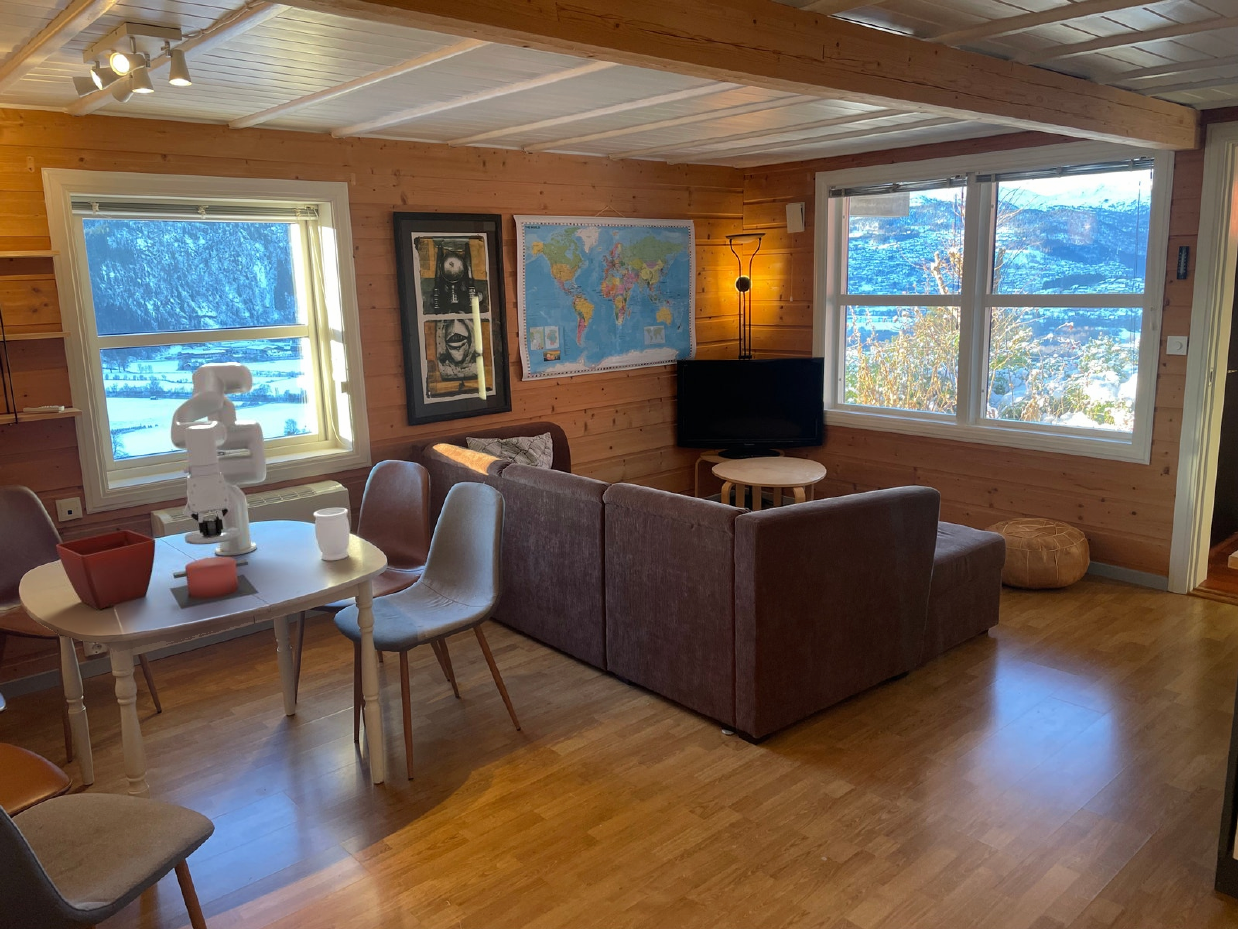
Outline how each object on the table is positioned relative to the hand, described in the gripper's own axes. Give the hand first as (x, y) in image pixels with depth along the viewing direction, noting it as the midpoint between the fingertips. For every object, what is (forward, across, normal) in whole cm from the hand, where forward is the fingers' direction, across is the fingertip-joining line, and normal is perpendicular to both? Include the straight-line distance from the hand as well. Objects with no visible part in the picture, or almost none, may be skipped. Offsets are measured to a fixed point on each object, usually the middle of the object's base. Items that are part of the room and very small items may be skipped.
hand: (211, 533), depth 254 cm
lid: (+1, 0, 0) cm, 1 cm away
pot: (+17, -1, 0) cm, 17 cm away
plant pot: (+18, -25, +12) cm, 33 cm away
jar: (+17, +37, +11) cm, 42 cm away
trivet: (+17, -1, 0) cm, 17 cm away
